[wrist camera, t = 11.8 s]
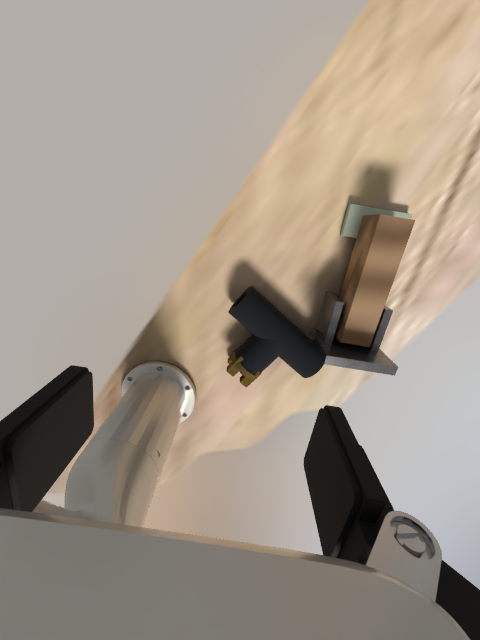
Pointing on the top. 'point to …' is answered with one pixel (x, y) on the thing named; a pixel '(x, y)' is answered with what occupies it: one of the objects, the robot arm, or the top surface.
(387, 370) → the grey metal bracket
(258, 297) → the pipe connector
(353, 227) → the pad
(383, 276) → the walnut rail
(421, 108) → the top surface
